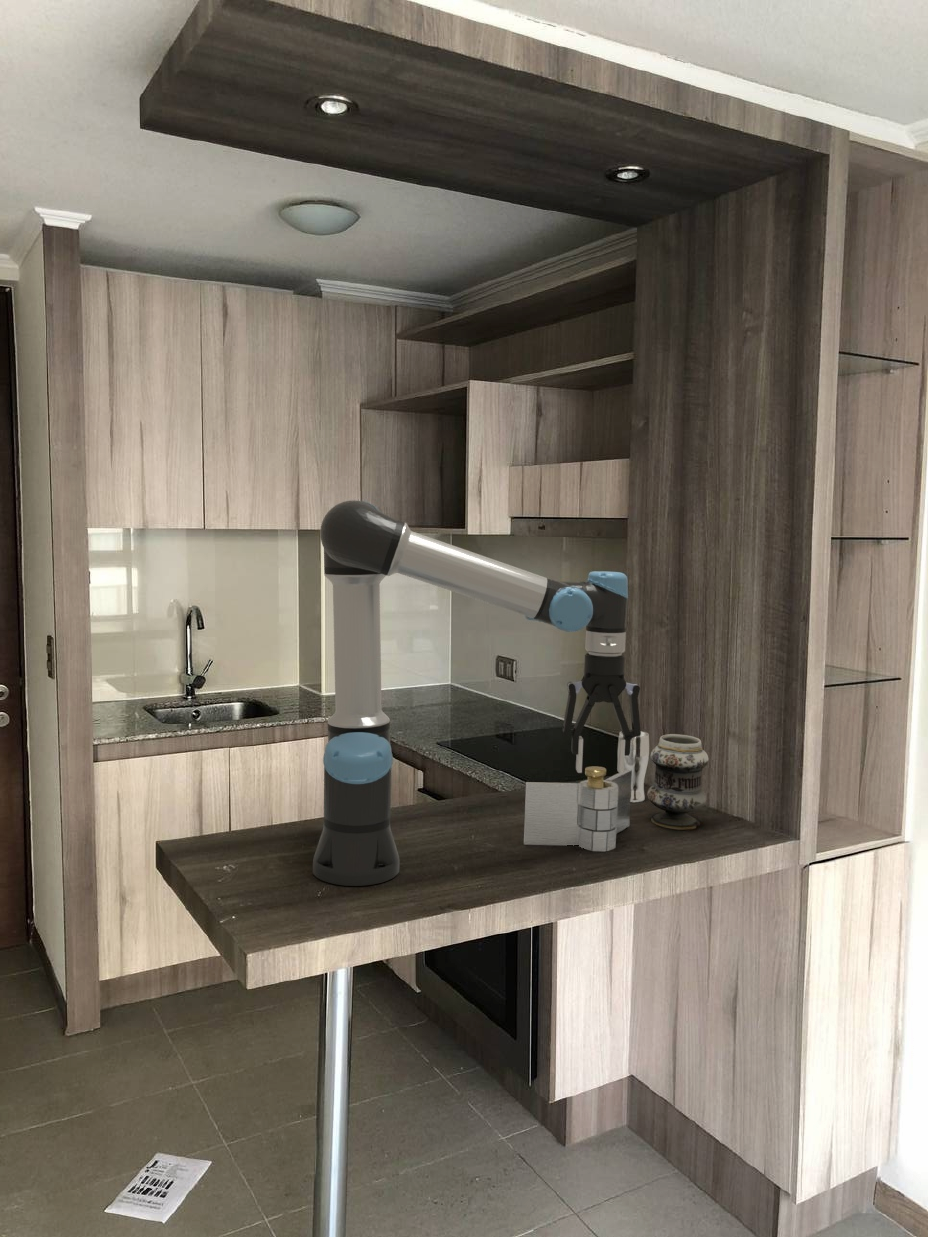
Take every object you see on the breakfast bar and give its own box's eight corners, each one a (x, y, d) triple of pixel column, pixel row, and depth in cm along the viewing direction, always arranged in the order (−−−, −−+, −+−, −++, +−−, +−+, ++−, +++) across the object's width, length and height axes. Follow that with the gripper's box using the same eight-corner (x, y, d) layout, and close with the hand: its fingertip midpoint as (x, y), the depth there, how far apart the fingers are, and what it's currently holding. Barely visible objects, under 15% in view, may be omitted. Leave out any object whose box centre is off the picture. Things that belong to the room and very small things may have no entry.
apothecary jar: (697, 835, 197) (702, 748, 195) (639, 826, 202) (643, 740, 200) (710, 819, 208) (715, 736, 206) (654, 810, 213) (658, 729, 211)
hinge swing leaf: (605, 852, 185) (607, 791, 184) (571, 844, 189) (574, 785, 188) (642, 829, 199) (645, 772, 198) (610, 822, 203) (613, 766, 202)
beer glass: (642, 804, 217) (645, 738, 216) (611, 800, 220) (614, 734, 219) (650, 796, 224) (653, 732, 222) (620, 792, 227) (623, 728, 225)
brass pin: (586, 848, 188) (586, 772, 186) (583, 841, 192) (583, 766, 190) (607, 848, 188) (607, 771, 186) (603, 841, 192) (604, 766, 190)
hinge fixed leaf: (525, 849, 186) (527, 788, 185) (522, 837, 193) (524, 778, 192) (617, 851, 186) (620, 790, 185) (611, 839, 193) (613, 779, 192)
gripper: (553, 654, 182) (549, 775, 184) (662, 657, 182) (656, 777, 185) (549, 649, 189) (544, 765, 192) (653, 651, 190) (647, 767, 192)
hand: (599, 771), depth 188 cm, fingers open, 7 cm apart
